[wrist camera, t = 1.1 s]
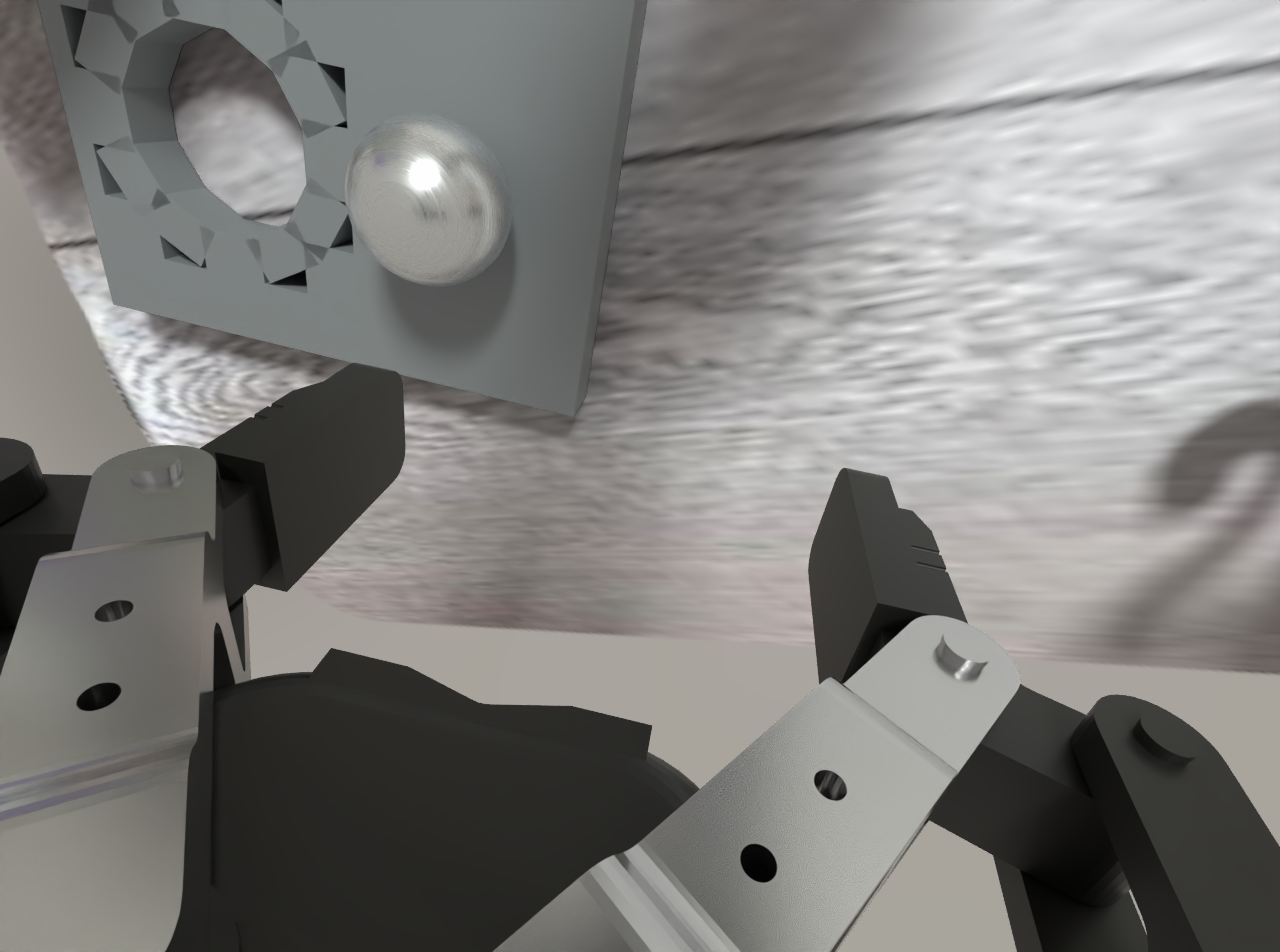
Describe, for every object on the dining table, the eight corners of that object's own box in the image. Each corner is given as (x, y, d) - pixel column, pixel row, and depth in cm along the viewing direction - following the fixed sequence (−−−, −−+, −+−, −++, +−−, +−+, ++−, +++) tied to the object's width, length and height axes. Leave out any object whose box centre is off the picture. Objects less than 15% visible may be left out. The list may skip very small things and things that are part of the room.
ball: (393, 96, 26) (300, 96, 20) (539, 129, 25) (482, 137, 20) (395, 250, 29) (316, 283, 24) (525, 281, 28) (473, 321, 23)
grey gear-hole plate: (55, -162, 25) (-10, -186, 23) (652, -35, 24) (641, -48, 22) (153, 291, 35) (113, 304, 33) (585, 396, 34) (573, 417, 31)
